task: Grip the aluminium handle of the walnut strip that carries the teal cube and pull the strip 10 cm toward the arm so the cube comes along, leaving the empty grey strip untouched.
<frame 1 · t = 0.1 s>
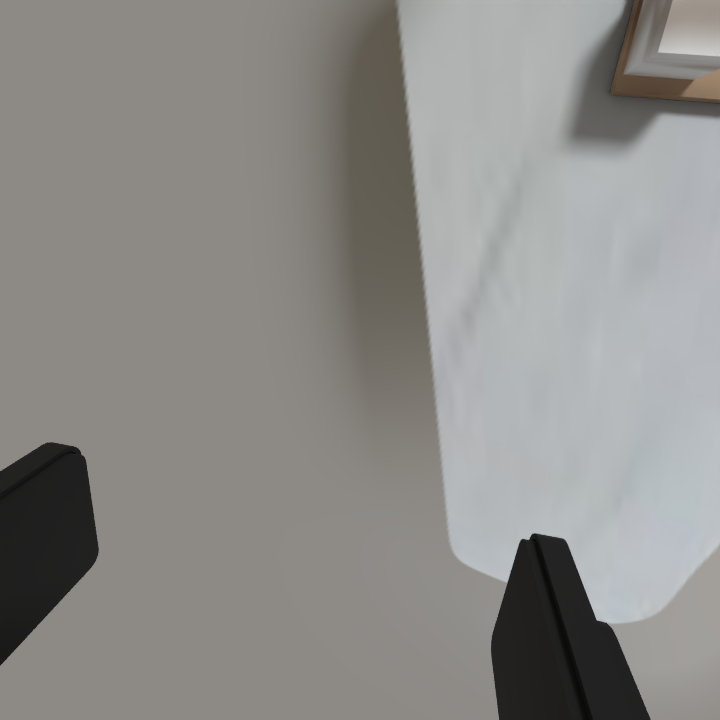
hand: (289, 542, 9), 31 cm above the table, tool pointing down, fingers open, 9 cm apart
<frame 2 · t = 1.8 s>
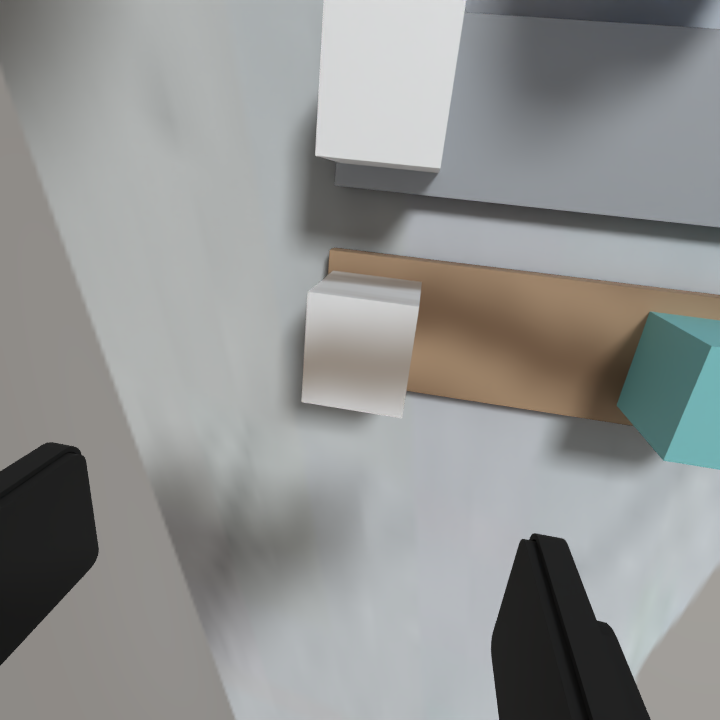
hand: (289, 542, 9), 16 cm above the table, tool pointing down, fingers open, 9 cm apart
walnut strip: (593, 368, 20), point 3 cm above the table, slide at 0.0 cm, touching teal cube
teal cube: (686, 367, 22), point 1 cm above the table, touching walnut strip
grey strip: (672, 121, 16), point 3 cm above the table, slide at 0.0 cm
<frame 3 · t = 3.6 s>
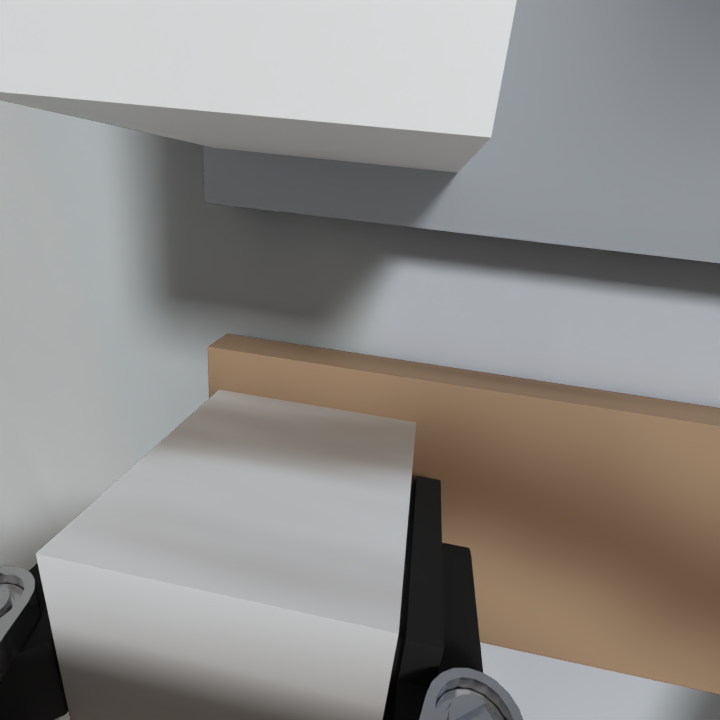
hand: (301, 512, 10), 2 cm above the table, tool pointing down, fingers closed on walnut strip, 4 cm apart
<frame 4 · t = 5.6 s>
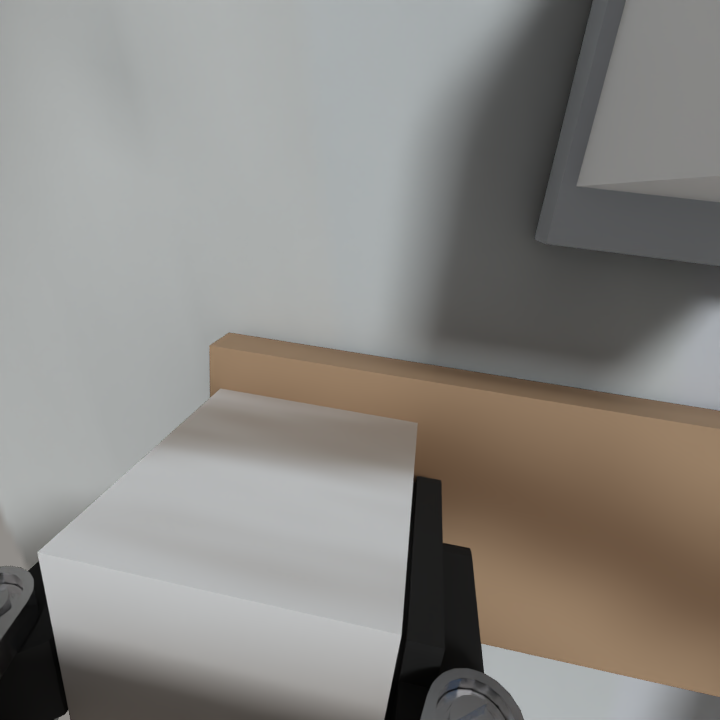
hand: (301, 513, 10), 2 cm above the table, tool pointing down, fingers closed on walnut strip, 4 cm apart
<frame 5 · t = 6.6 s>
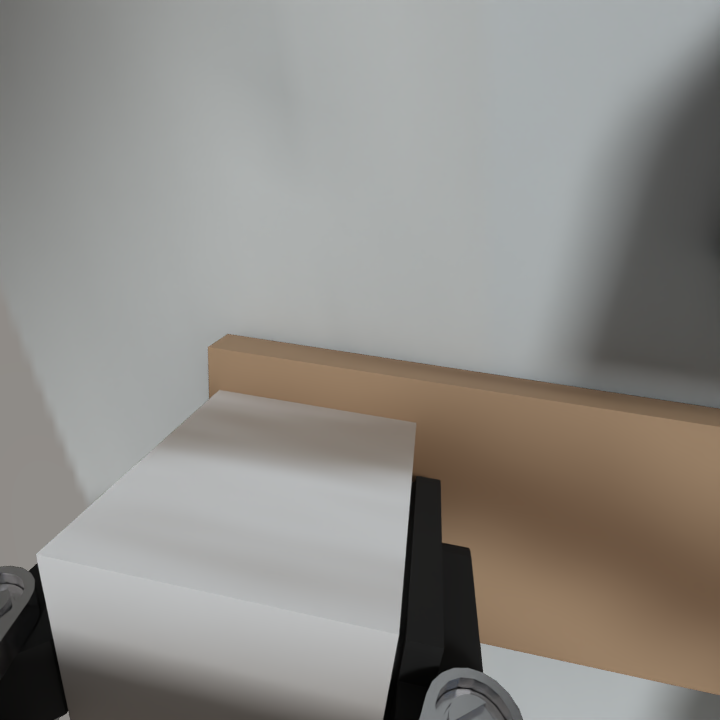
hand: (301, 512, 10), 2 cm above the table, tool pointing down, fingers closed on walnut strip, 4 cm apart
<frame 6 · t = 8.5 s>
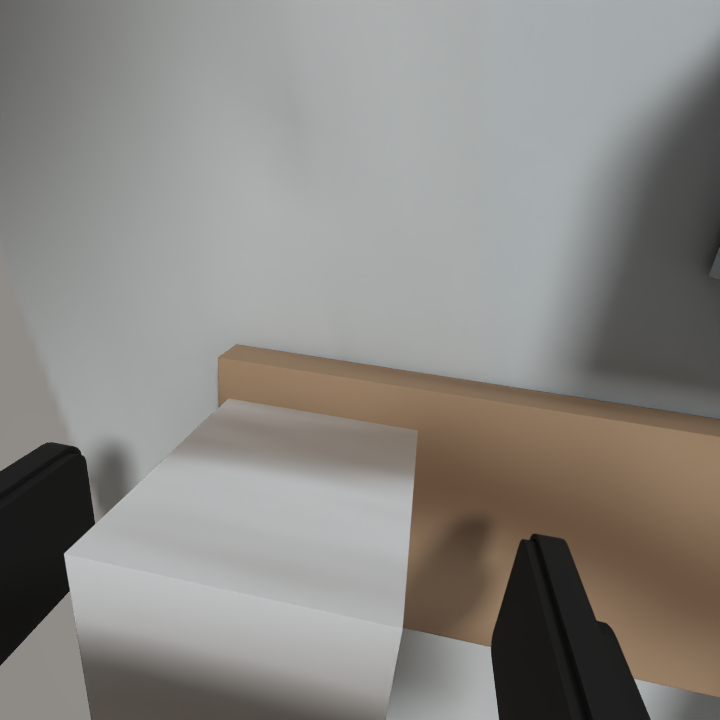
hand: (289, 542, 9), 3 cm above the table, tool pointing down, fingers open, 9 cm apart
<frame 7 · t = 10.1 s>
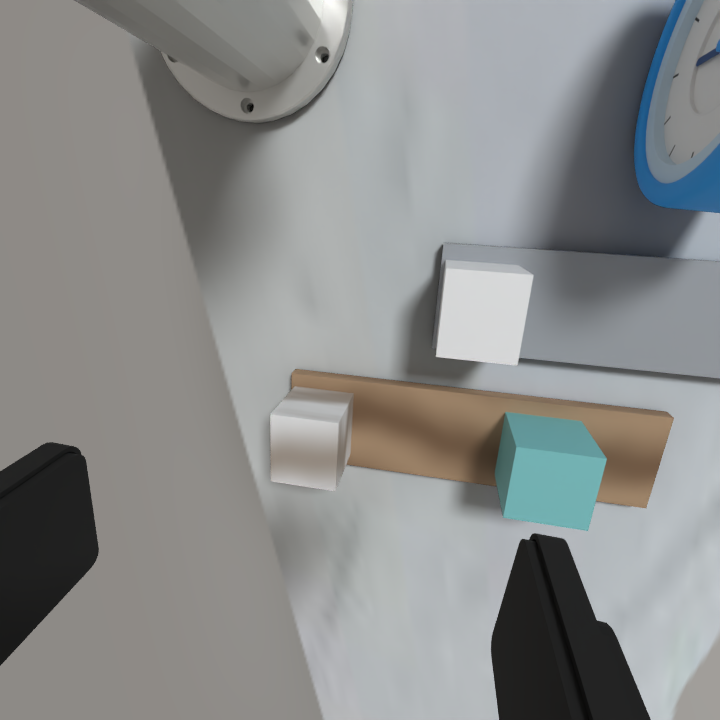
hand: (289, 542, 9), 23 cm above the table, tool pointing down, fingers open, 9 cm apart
walnut strip: (465, 452, 30), point 3 cm above the table, slide at 10.0 cm, touching teal cube
alarm clock: (698, 91, 25), on the table
teal cube: (536, 448, 31), point 1 cm above the table, touching walnut strip
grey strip: (665, 323, 25), point 3 cm above the table, slide at 0.0 cm
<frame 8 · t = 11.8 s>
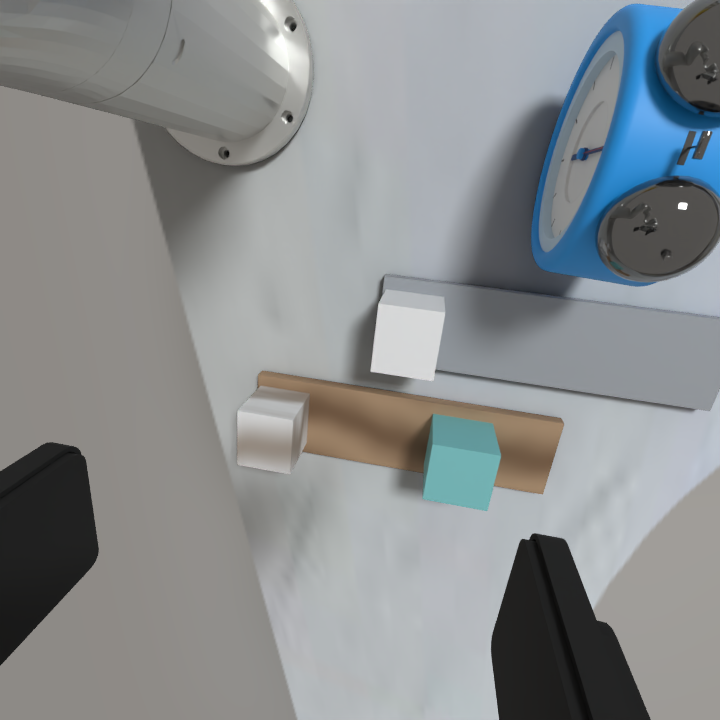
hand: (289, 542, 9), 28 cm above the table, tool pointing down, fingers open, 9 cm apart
walnut strip: (398, 446, 37), point 3 cm above the table, slide at 10.0 cm, touching teal cube
alarm clock: (586, 167, 31), on the table
teal cube: (457, 444, 38), point 1 cm above the table, touching walnut strip
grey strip: (552, 351, 32), point 3 cm above the table, slide at 0.0 cm
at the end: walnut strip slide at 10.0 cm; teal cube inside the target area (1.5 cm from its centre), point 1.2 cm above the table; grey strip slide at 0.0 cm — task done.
